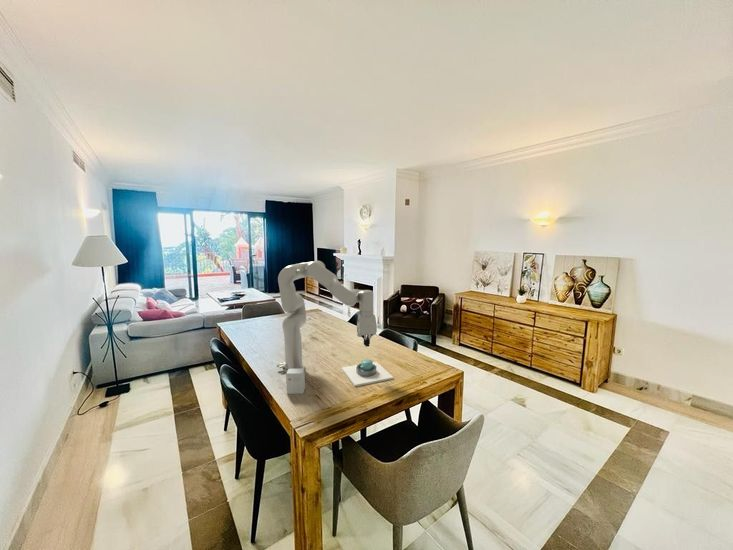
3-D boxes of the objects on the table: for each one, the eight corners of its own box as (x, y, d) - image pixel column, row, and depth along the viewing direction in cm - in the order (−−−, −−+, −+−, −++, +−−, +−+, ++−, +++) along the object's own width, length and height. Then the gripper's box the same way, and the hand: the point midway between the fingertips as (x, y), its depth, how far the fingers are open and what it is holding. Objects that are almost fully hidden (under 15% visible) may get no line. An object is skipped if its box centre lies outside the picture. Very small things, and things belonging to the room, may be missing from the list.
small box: (305, 388, 149) (304, 368, 148) (303, 393, 143) (302, 373, 142) (289, 388, 149) (288, 368, 147) (286, 394, 143) (285, 373, 142)
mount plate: (354, 386, 150) (354, 384, 150) (341, 369, 170) (341, 367, 170) (393, 378, 159) (393, 377, 159) (376, 363, 179) (376, 361, 179)
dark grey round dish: (360, 378, 157) (360, 372, 157) (353, 369, 167) (353, 364, 167) (379, 374, 162) (379, 369, 161) (371, 366, 171) (371, 361, 171)
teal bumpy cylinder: (362, 375, 160) (362, 364, 160) (358, 370, 166) (358, 360, 165) (375, 373, 163) (375, 362, 163) (371, 368, 169) (371, 358, 168)
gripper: (356, 316, 154) (356, 350, 156) (382, 313, 160) (382, 346, 162) (351, 312, 161) (351, 345, 163) (376, 310, 167) (376, 341, 169)
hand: (366, 345), depth 163 cm, fingers closed
